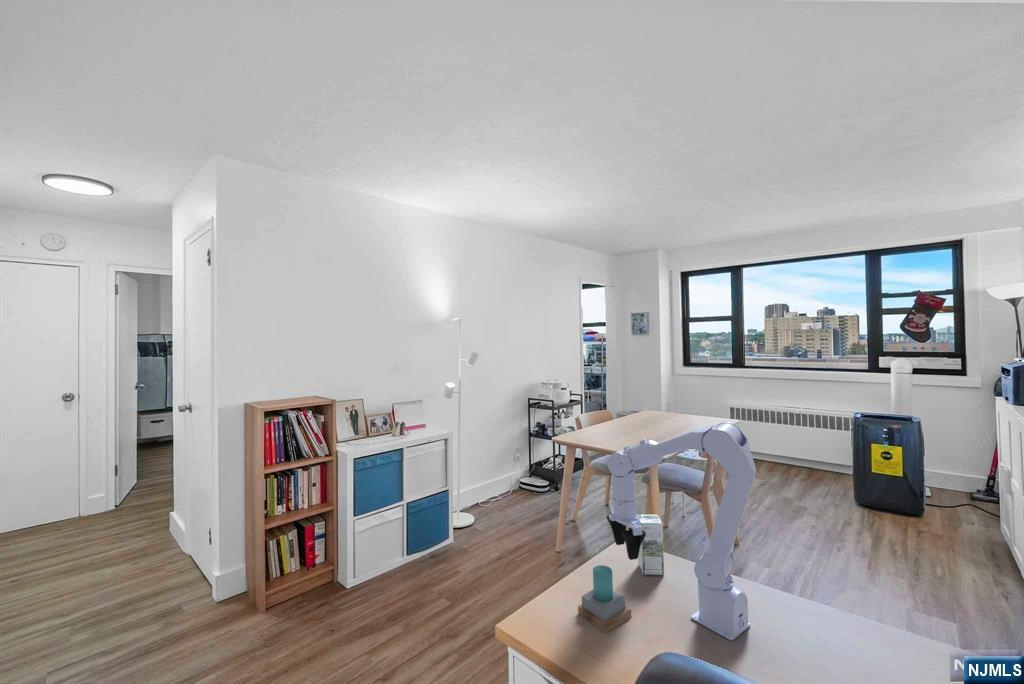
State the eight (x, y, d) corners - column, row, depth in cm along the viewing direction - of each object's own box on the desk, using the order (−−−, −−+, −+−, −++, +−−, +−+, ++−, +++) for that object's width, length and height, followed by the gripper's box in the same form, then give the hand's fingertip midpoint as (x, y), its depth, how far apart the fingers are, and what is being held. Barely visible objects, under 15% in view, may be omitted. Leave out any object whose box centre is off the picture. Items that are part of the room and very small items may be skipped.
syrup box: (659, 564, 120) (657, 513, 120) (664, 576, 114) (662, 522, 114) (638, 564, 121) (636, 513, 121) (642, 576, 115) (640, 522, 115)
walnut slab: (631, 619, 99) (631, 609, 99) (605, 636, 94) (605, 624, 94) (603, 602, 106) (603, 592, 106) (578, 616, 101) (578, 606, 101)
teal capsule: (617, 596, 100) (616, 571, 100) (603, 604, 97) (603, 577, 97) (602, 588, 103) (601, 563, 103) (589, 595, 101) (588, 569, 101)
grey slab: (625, 608, 99) (625, 597, 99) (604, 621, 95) (604, 610, 95) (602, 594, 105) (602, 584, 105) (582, 606, 101) (581, 596, 101)
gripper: (598, 489, 115) (600, 540, 116) (621, 510, 101) (623, 568, 101) (623, 487, 117) (625, 536, 117) (649, 507, 102) (651, 564, 102)
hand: (626, 551), depth 109 cm, fingers open, 7 cm apart
